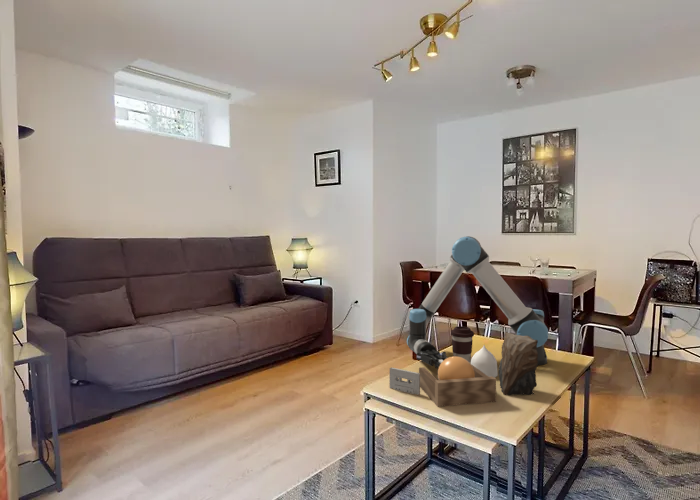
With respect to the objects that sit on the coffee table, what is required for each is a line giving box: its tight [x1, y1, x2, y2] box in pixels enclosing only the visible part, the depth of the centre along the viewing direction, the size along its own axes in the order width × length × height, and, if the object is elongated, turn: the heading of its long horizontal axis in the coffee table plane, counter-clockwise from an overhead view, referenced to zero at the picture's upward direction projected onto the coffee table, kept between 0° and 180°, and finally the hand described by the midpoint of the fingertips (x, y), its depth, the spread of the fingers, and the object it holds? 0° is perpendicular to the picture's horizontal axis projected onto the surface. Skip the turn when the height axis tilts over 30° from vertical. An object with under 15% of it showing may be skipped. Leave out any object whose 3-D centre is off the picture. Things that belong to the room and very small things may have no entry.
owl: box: [497, 331, 539, 396], centre depth 153 cm, size 13×13×20 cm
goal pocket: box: [418, 363, 497, 408], centre depth 150 cm, size 21×18×8 cm
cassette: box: [389, 367, 421, 395], centre depth 152 cm, size 12×2×8 cm, turn 57°
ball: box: [437, 355, 475, 380], centre depth 150 cm, size 13×13×13 cm
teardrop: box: [470, 344, 499, 378], centre depth 170 cm, size 11×11×12 cm
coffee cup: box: [450, 325, 475, 363], centre depth 185 cm, size 10×10×15 cm
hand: (447, 368), depth 157 cm, fingers closed
